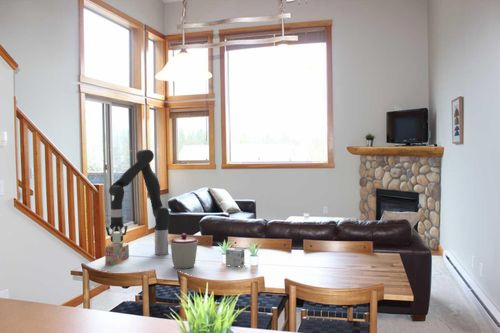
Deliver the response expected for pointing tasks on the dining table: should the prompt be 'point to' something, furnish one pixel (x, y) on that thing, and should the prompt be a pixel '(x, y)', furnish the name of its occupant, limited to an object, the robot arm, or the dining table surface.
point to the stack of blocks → (116, 253)
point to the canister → (183, 251)
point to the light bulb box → (235, 257)
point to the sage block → (117, 237)
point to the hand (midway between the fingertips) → (116, 241)
